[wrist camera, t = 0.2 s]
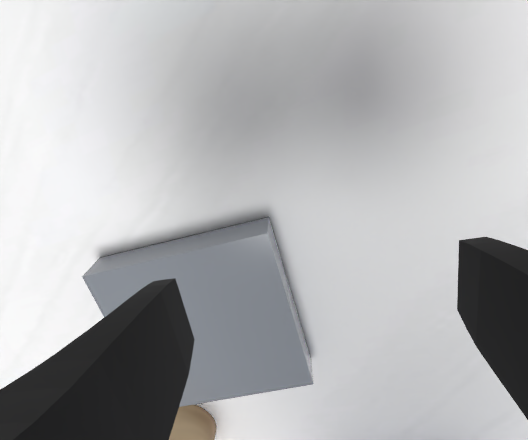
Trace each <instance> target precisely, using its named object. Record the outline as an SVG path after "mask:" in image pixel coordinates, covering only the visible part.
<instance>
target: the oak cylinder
mask: <svg viewBox="0 0 528 440" xmlns="http://www.w3.org/2000/svg"><path fill="white" fill-rule="evenodd" d="M215 433H216V423H215V420H214V419H213V417H212V416H211V415H210V414H209V413H208V412H207V411H206V410H204V409H203V408H201V407H199V406H196V405H188V406H182V407H179V409H178V412H177V415H176V418H175V421H174V424H173V428H172V431H171V434H170V437H169V440H214V438H215Z"/></svg>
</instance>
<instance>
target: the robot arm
mask: <svg viewBox="0 0 528 440" xmlns="http://www.w3.org/2000/svg"><path fill="white" fill-rule="evenodd" d="M457 310H458V312H459V314H460V316H461V318H462V320H463V322H464V324H465V326H466V328H467V330H468V332H469V334H470V336H471V337H472V339H473V341H474V343H475V345H476V346H477V348H478V349H479V351H480V352H481V354H482V355H483V357H484V358H485V360H486V361H487V363H488V364H489V365H490V367H491V368H492V370H493V371H494V373H495V374H496V375H497V377H498V378H499V380H500V381H501V383H502V384H503V385H504V387H505V388H506V390H507V391H508V392H509V394H510V395H511V397H512V398H513V400H514V401H515V402H516V404H517V405H518V407H519V408H520V409H521V411H522V412H523V414H524V415H525V416H526V418H527V419H528V250H526V249H523V248H520V247H517V246H514V245H511V244H508V243H505V242H502V241H499V240H496V239H492V238H488V237H481V238H474V239H466V240H459V268H458V303H457ZM194 340H195V339H194V336H193V333H192V330H191V326H190V323H189V320H188V317H187V314H186V310H185V307H184V304H183V301H182V298H181V294H180V291H179V288H178V285H177V282H176V279H175V278H173V279H165V280H158V281H153V282H151V283H150V284H148V285H146V286H145V287H143V288H142V289H141V290H139V291H138V292H137V293H135V294H134V295H133V296H131V297H130V298H129V299H127V300H126V301H125V302H124V303H122V304H121V305H120V306H119V307H117V308H116V309H115V310H113V311H112V312H111V313H110V314H108V315H107V316H106V317H104V318H103V319H102V320H101V321H99V322H98V323H97V324H95V325H94V326H93V327H92V328H90V329H89V330H88V331H86V332H85V333H83V334H82V335H81V336H79V337H78V338H77V339H75V340H74V341H72V342H71V343H70V344H68V345H67V346H66V347H64V348H63V349H61V350H60V351H59V352H57V353H56V354H55V355H53V356H52V357H50V358H49V359H47V360H46V361H44V362H43V363H42V364H40V365H38V366H37V367H35V368H34V369H32V370H31V371H29V372H28V373H26V374H25V375H23V376H21V377H20V378H18V379H17V380H15V381H13V382H12V383H10V384H9V385H7V386H6V387H4V388H2V389H1V390H0V440H169V437H170V434H171V431H172V428H173V424H174V421H175V418H176V415H177V412H178V409H179V405H180V402H181V399H182V396H183V392H184V389H185V386H186V382H187V379H188V375H189V370H190V365H191V359H192V353H193V346H194Z"/></svg>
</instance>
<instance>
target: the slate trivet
mask: <svg viewBox="0 0 528 440" xmlns="http://www.w3.org/2000/svg"><path fill="white" fill-rule="evenodd" d="M82 277H83V279H84V281H85V283H86V284H87V286H88V288H89V290H90V292H91V294H92V296H93V297H94V299H95V301H96V303H97V305H98V307H99V308H100V310H101V312H102V314H103V316H104V317H106V316H107V315H108V314H110V313H111V312H112V311H113V310H115V309H116V308H117V307H119V306H120V305H121V304H122V303H124V302H125V301H126V300H127V299H129V298H130V297H131V296H133V295H134V294H135V293H137V292H138V291H139V290H141V289H142V288H143V287H145V286H146V285H148V284H150V283H151V282H153V281H158V280H165V279H173V278H175V279H176V282H177V285H178V288H179V291H180V294H181V298H182V301H183V304H184V307H185V310H186V314H187V317H188V320H189V323H190V326H191V330H192V333H193V336H194V339H195V340H194V346H193V353H192V359H191V365H190V370H189V375H188V379H187V382H186V386H185V389H184V392H183V396H182V399H181V402H180V405H179V407H182V406H188V405H194V404H199V403H205V402H211V401H217V400H223V399H229V398H235V397H240V396H246V395H252V394H258V393H264V392H270V391H276V390H282V389H287V388H293V387H299V386H305V385H311V384H313V375H312V365H311V357H310V354H309V351H308V347H307V344H306V341H305V337H304V334H303V330H302V327H301V324H300V320H299V317H298V313H297V310H296V307H295V303H294V300H293V297H292V293H291V290H290V286H289V283H288V280H287V276H286V273H285V270H284V266H283V263H282V259H281V256H280V253H279V249H278V246H277V243H276V239H275V236H274V232H273V229H272V226H271V222H270V219H269V217H267V218H263V219H259V220H255V221H251V222H246V223H242V224H238V225H234V226H230V227H226V228H222V229H217V230H213V231H209V232H205V233H201V234H197V235H193V236H188V237H184V238H180V239H176V240H172V241H168V242H164V243H159V244H155V245H151V246H147V247H143V248H139V249H135V250H130V251H126V252H122V253H118V254H114V255H110V256H105V257H101V258H99V259H98V260H97V261H96V262H95V264H94V265H93V266H92V267H91V268H90V269H89V270H88V271H87V272H86V273H85V274H84V275H83V276H82Z"/></svg>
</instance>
